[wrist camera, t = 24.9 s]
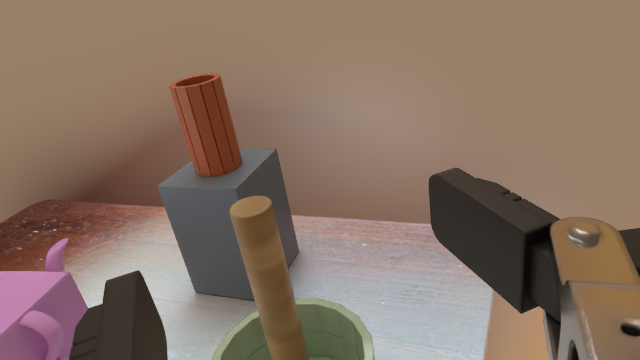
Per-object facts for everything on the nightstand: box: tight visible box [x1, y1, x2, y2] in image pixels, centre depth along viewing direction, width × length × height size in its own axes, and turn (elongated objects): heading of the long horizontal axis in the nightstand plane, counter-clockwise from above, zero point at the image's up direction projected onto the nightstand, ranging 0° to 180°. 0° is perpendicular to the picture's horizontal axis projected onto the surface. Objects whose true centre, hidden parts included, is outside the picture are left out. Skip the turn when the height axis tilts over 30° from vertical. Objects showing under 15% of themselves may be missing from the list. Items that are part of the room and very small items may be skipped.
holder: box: [158, 73, 299, 300], centre depth 42 cm, size 8×8×20 cm
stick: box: [229, 196, 309, 360], centre depth 26 cm, size 2×2×16 cm
